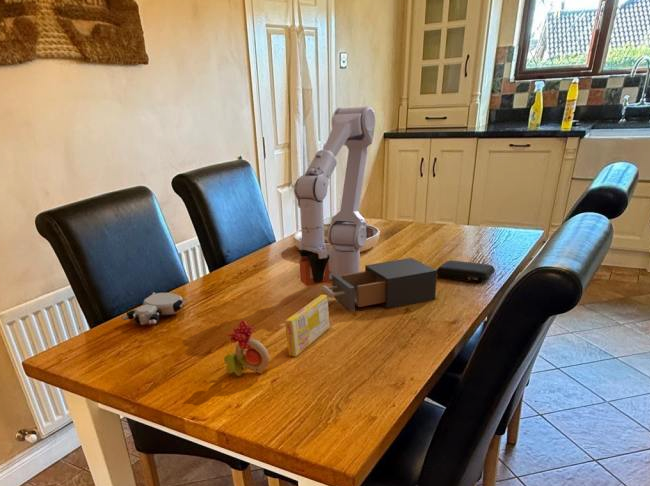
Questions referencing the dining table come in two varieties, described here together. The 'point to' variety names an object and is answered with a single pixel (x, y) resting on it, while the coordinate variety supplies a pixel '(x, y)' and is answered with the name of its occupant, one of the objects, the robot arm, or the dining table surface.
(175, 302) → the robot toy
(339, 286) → the drawer
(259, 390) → the dining table surface
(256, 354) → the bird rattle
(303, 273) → the ridged terracotta block
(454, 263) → the carrying case
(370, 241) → the bowl
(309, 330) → the candy box
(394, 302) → the cabinet
